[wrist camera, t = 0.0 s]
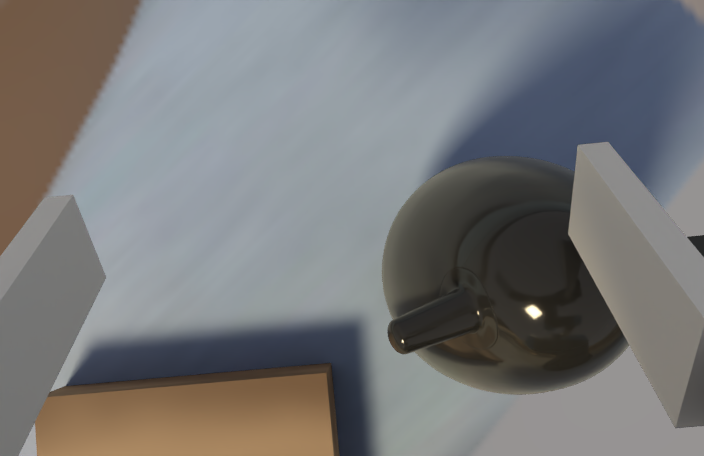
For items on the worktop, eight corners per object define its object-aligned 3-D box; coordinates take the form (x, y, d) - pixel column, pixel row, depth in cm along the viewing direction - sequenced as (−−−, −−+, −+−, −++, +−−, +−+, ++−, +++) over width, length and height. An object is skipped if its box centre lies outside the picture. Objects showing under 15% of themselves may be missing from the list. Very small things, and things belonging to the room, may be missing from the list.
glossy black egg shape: (350, 207, 33) (332, 170, 17) (542, 143, 32) (691, 50, 17) (413, 396, 32) (450, 527, 17) (607, 332, 32) (820, 408, 17)
